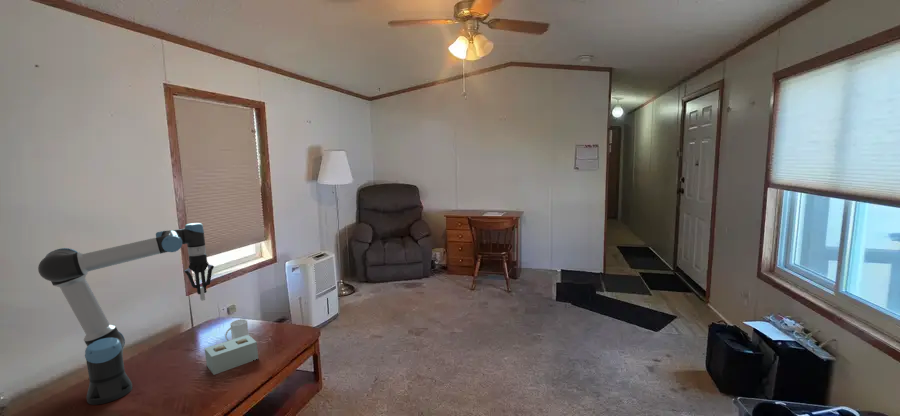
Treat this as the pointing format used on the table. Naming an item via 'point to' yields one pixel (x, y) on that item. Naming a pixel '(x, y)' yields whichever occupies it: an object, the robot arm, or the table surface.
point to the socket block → (231, 354)
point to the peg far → (241, 341)
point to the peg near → (219, 348)
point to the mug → (238, 329)
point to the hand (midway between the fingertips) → (202, 299)
